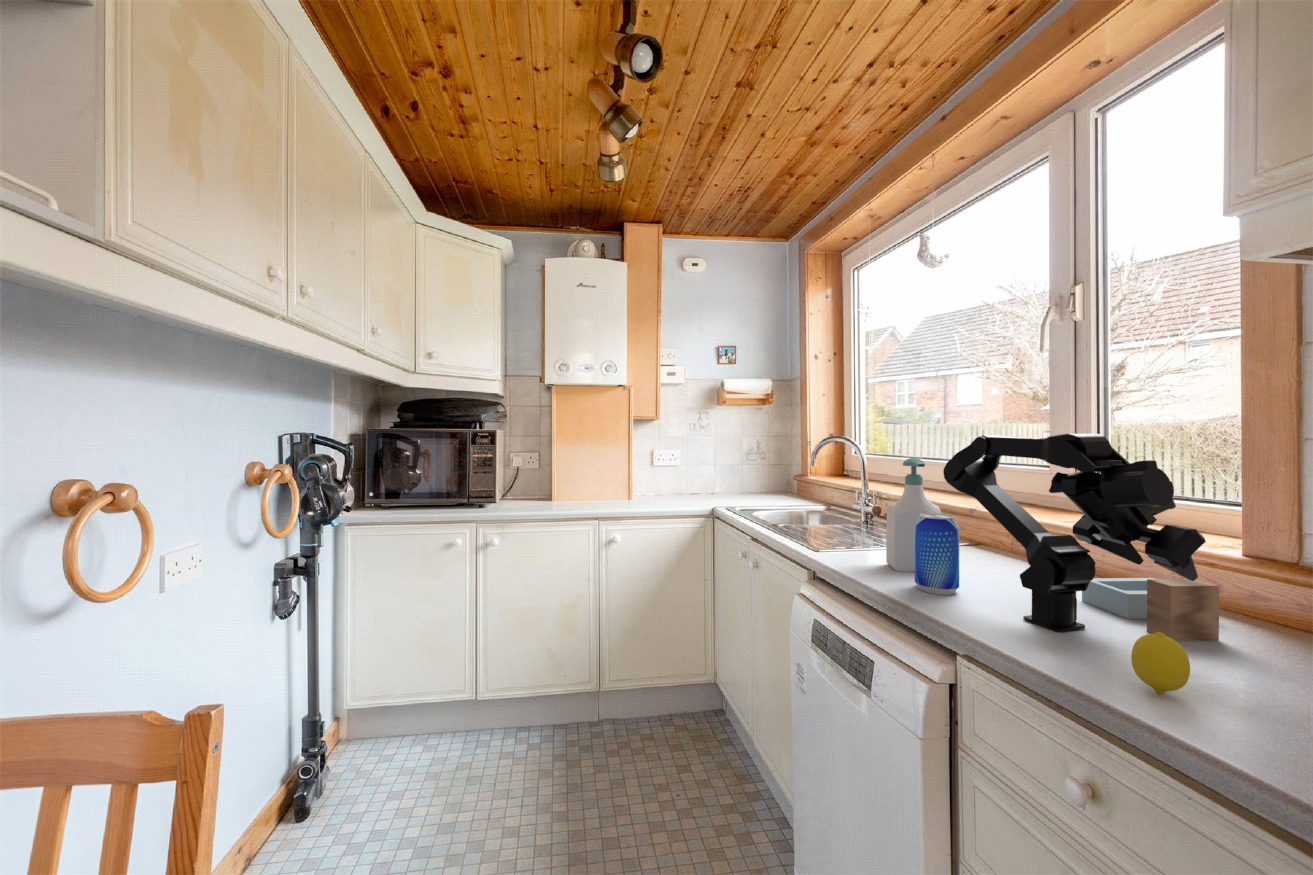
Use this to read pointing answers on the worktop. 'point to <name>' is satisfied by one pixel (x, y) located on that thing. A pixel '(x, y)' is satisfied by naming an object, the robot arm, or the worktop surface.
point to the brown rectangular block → (1183, 609)
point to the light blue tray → (1119, 596)
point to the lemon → (1160, 662)
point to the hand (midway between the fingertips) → (1166, 570)
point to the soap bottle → (906, 520)
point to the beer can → (937, 553)
